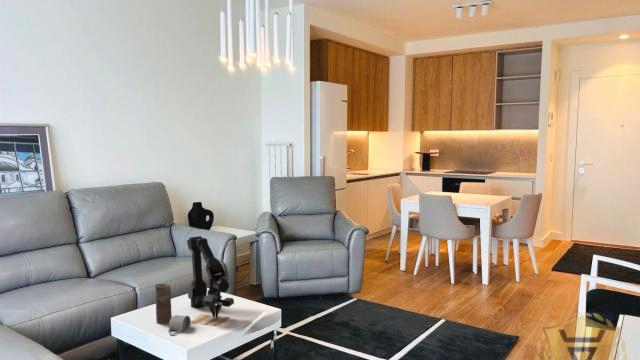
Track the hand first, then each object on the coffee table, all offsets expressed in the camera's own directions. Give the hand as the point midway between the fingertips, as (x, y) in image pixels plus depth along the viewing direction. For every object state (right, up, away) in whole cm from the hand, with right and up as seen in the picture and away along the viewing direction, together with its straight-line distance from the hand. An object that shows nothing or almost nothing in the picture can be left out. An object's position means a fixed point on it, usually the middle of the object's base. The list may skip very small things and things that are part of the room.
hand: (215, 317), depth 242 cm
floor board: (+2, -2, -3) cm, 4 cm away
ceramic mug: (-14, -3, -15) cm, 21 cm away
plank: (-7, -2, -1) cm, 7 cm away
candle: (-25, -2, -4) cm, 25 cm away
